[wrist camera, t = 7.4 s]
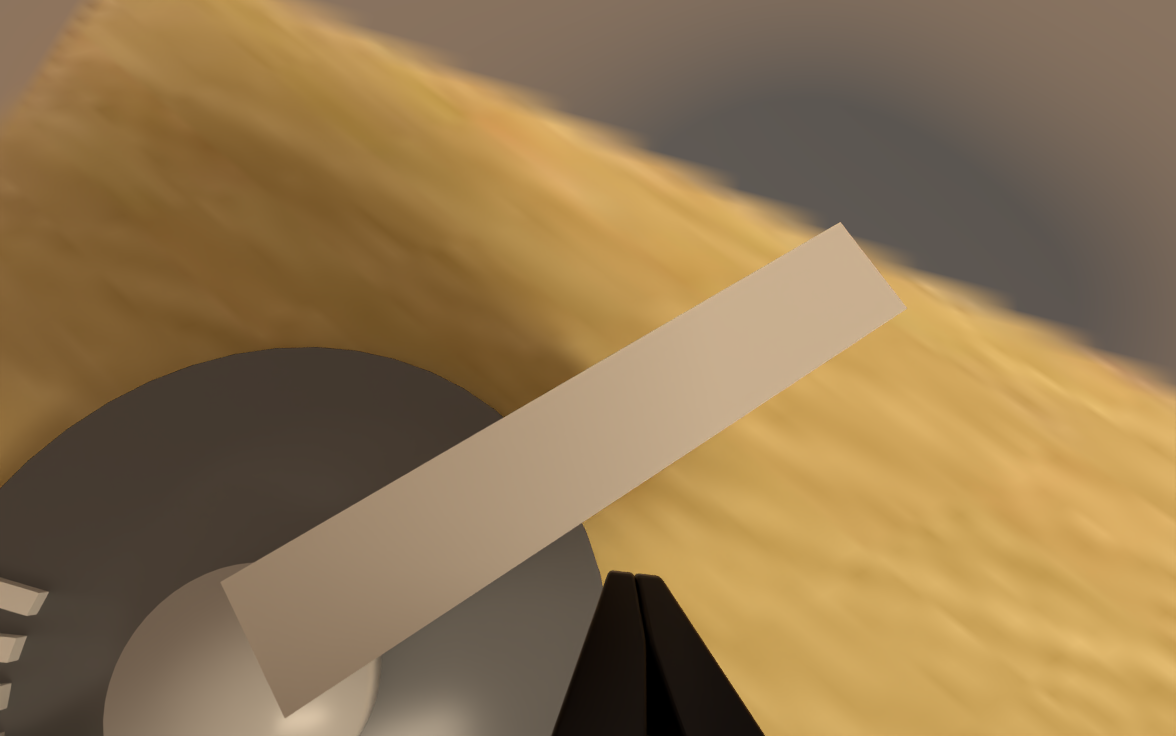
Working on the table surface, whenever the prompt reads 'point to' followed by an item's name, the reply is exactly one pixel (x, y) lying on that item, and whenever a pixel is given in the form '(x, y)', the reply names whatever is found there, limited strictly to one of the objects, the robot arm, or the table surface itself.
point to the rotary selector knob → (478, 511)
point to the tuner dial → (264, 538)
